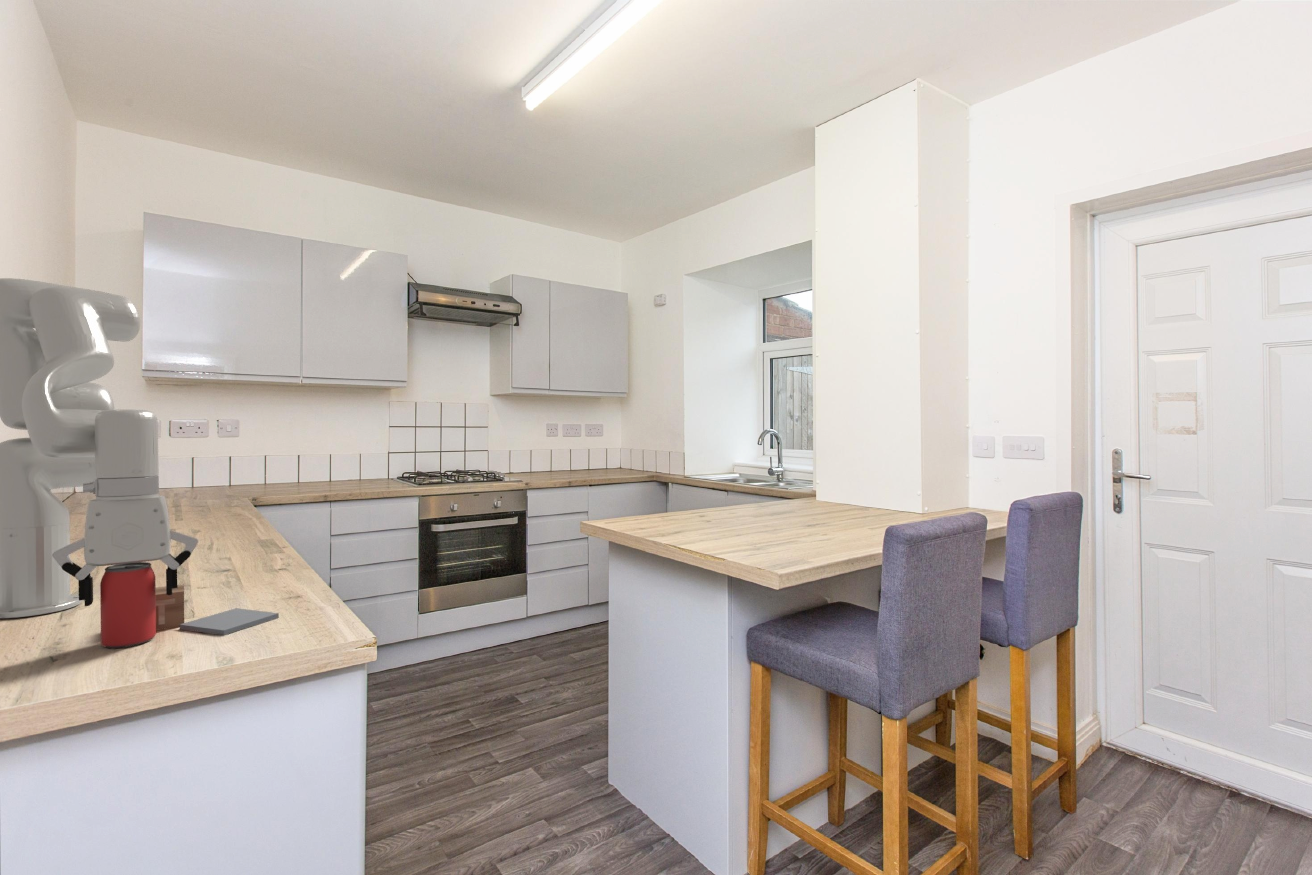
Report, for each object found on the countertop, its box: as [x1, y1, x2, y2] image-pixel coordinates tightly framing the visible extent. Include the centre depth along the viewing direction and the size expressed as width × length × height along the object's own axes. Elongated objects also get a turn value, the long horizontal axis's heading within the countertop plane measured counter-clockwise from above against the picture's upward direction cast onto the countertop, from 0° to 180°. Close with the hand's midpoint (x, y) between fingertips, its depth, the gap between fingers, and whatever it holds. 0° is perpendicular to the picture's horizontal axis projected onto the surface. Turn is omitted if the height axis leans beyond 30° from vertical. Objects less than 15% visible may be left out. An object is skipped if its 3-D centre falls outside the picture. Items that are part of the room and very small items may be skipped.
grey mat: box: [179, 607, 279, 636], centre depth 108 cm, size 10×10×1 cm
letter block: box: [156, 583, 185, 631], centre depth 107 cm, size 6×6×6 cm
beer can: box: [99, 561, 157, 649], centre depth 98 cm, size 7×7×12 cm
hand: (130, 598), depth 98 cm, fingers open, 9 cm apart
